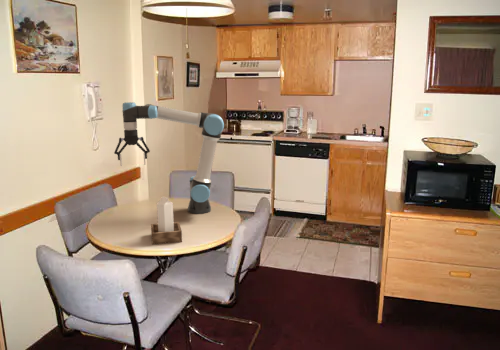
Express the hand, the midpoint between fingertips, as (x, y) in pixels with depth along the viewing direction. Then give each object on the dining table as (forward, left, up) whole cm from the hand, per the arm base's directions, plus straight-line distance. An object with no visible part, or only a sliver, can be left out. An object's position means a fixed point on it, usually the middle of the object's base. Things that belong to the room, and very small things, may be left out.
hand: (133, 164), depth 252 cm
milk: (-16, +36, -33) cm, 51 cm away
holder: (-16, +36, -34) cm, 52 cm away
